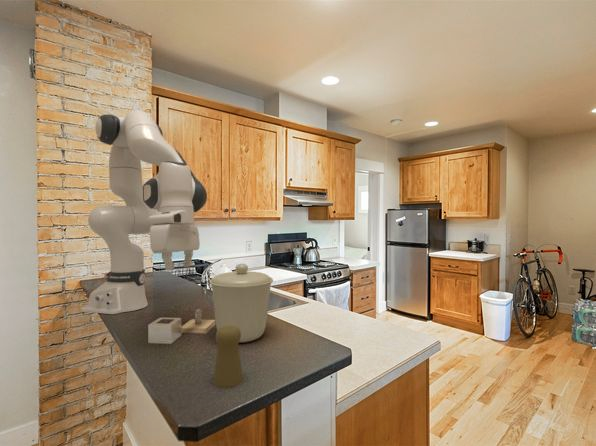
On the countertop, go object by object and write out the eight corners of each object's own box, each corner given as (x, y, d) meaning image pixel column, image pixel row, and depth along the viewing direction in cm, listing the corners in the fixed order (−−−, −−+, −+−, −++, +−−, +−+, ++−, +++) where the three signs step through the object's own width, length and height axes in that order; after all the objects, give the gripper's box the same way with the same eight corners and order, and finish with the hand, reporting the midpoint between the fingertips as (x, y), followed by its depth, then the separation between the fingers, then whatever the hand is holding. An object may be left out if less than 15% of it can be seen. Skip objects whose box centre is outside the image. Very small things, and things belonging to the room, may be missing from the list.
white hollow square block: (148, 343, 84) (148, 324, 84) (160, 334, 91) (160, 317, 91) (171, 343, 84) (171, 325, 84) (181, 335, 90) (181, 318, 90)
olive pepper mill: (232, 390, 61) (232, 334, 61) (207, 384, 63) (207, 330, 63) (248, 376, 67) (248, 325, 66) (224, 370, 69) (224, 321, 69)
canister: (198, 334, 91) (199, 262, 91) (251, 322, 102) (252, 258, 102) (227, 355, 77) (228, 270, 77) (285, 338, 88) (285, 264, 88)
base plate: (180, 332, 92) (180, 312, 92) (190, 323, 100) (191, 305, 100) (206, 333, 92) (206, 313, 92) (215, 324, 100) (215, 305, 100)
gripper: (184, 221, 97) (186, 265, 96) (144, 217, 77) (146, 273, 76) (203, 219, 96) (205, 264, 95) (168, 215, 76) (170, 271, 75)
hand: (179, 268), depth 86 cm, fingers open, 8 cm apart
